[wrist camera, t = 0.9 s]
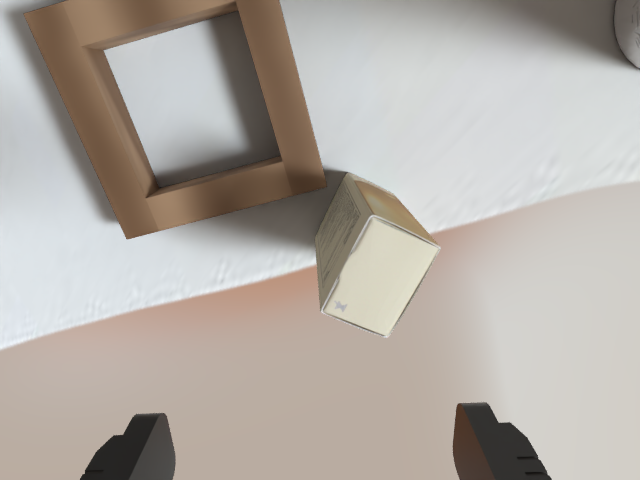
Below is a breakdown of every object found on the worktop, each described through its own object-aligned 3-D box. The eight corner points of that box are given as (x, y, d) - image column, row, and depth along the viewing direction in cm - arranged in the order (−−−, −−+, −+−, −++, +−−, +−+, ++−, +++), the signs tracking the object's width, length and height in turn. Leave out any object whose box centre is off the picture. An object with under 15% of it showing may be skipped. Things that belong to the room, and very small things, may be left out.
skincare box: (360, 259, 35) (386, 345, 23) (312, 238, 34) (315, 318, 22) (397, 190, 33) (446, 248, 21) (348, 166, 32) (371, 213, 20)
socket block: (267, -45, 27) (262, -60, 24) (325, 177, 32) (327, 186, 29) (51, 20, 28) (23, 13, 25) (142, 226, 33) (126, 239, 30)
